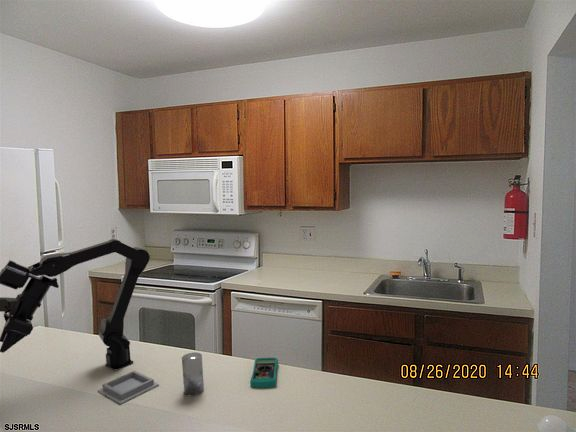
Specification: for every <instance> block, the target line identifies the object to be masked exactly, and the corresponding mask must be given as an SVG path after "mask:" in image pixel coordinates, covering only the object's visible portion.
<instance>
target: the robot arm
mask: <svg viewBox="0 0 576 432" xmlns="http://www.w3.org/2000/svg"><path fill="white" fill-rule="evenodd" d="M115 253H116V254H118V255H121V256H122V257H124V258H125V262H124V265H125V269H124V276H123V278H122V281H121V283H120V287H119V290H118V292H117V295H116V297H115V301H114V302H113V306H112V308H111V311H110V314H109V315H108V316H107V318H104V317H102V318H101V320H100V321H101V322H100V325H99V327H98V328H97V331H98V337H99V339H100V340H101V341H102V343H103V344H104V345H105V346H106V347H107V348H106V353H105V362H106V363H105V364H104V365H105V366H106V367H107V368H110V369H111V370H114V371H118V370H120V369H122V368H125V367H127V366H129V365H131V364H134V360H132V359H131V350H130V345H131V341H130V340H129V339H128V338H127V337H126V336H125V334H124V329H125V328H124V327H125V323H124V321H125V317H126V313H127V311H128V308H129V305H130V302H131V299H132V296H133V294H134V291H135V288H136V285H137V282H138V280H139V277H140V276H141V274H142V273H143V272H144V270H145V269H146V267H147V265H148V264H149V262H150V258H151V257H150V256H151V255H150V254H149V252H148V250H146V249H144V248H140V247H138V246H136V247H135V246H134V247H132V246H130V245H128V244H126V243H123V242H122V241H121V240H119V239H116V238H111V239H108V240H107V241H104V242H100V243H97V244H94V245H91V246H86V247H84V248H81V249H78V250H74V251H70V252H61V253H54V254H48V255H45V256H43V257H41V259H40V260H39V262H36V263H33V264H32V265H30V266H25V265H22V264H19V263H17V262H15V261H14V260H10V259H9V260H8V261H7V263H6V264H5V266H4V267H3V268H2V269H1V270H0V285H2V286H5V287H8V288H10V289H13V290H16V291H17V290H18V289H22V288H23V290H22V292H21V293H19V294H17V295H16V297H6V296H5V297H2V296H1V297H0V312H2V313H3V318H4V321H5V323H4V326H3V330H2V332H1V335H0V342H1V343H2V344H1V345H0V353H3V354H4V353H5V352H6V351H8V350H9V349H10V348H12V347H13V346H14V345H16V344H17V343H18V342H20V341H21V340H23V339H24V338H25V337H28V336H29V335H30V334H31V333H32V331H33V330H34V327H33V323H32V321H33V319H34V314H35V313H36V311H37V309H38V308H40V307H41V306H42V302H43V299H45V296H46V295H47V293H48V292H49V290H50V288H51V287H54V288H56V289H58V288H59V287H60V286H59V284H58V277H57V276H60V275H61V274H63V273H64V272H67V271H69V270H70V269H72V268H73V267H75V266H77V265H79V264H83V263H86V262H89V261H92V260H95V259H97V258H102V257H104V256H107V255H110V254H115ZM52 277H53V278H52ZM29 278H30V279H29Z"/></svg>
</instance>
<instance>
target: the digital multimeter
mask: <svg viewBox="0 0 576 432" xmlns="http://www.w3.org/2000/svg"><path fill="white" fill-rule="evenodd" d="M253 364H254V365H253V368H252V369H253V371H252V373H251V374H252V375H251V377H250V380H249V381H250V387H251V388H259V389H262V388H264V389H265V388H274V387H277V372H278V367H279V359H278V358H277V357H258V358H255V359H254V363H253Z"/></svg>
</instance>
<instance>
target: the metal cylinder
mask: <svg viewBox="0 0 576 432" xmlns="http://www.w3.org/2000/svg"><path fill="white" fill-rule="evenodd" d="M181 365H182V380H183V393H184V395H186V396H188V395H190V396H189V397H192V396H193V397H194V396H198V395H201V394H202V393H203V392H204V391H205V386H204V385H205V383H204V371H203V370H204V369H203V367H204V366H203V355H202V353H200V352H189V353H186V354H184V355H183V356H182V357H181Z"/></svg>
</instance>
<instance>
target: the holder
mask: <svg viewBox="0 0 576 432" xmlns="http://www.w3.org/2000/svg"><path fill="white" fill-rule="evenodd" d="M154 379H155V378H154ZM154 379H153V378H152V377H149V376H148V375H144V374H143V373H140V372H138V371H136V370H133V371H130V372H127V373H124V374H123V375H120V376H118V377H116V378H115V379H112V380H110V381H107V382H105V383H102V387H101V388H99V389H97V392H98V391H99V392H100V394H101V393H102V394H101V395H103V394H104V395H103V396H105V395H106V396H107V398H108V397H109V399H110V398H111V400H112V401H113V402H116V403H117V404H119V405H123V404H125V403H127V402H129V401H131V400H134V399H135V398H136V396H137V397H138V395H139V396H141V395H143V394H145V393H147V392H149V391H151V390H153V389H155V388H157V387H159V386H160V384H159V383H157V382H156V381H154ZM99 392H98V393H99ZM106 396H105V397H106ZM130 399H131V400H130Z"/></svg>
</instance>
